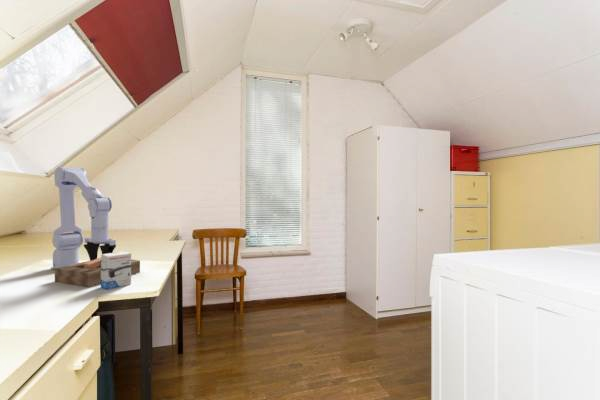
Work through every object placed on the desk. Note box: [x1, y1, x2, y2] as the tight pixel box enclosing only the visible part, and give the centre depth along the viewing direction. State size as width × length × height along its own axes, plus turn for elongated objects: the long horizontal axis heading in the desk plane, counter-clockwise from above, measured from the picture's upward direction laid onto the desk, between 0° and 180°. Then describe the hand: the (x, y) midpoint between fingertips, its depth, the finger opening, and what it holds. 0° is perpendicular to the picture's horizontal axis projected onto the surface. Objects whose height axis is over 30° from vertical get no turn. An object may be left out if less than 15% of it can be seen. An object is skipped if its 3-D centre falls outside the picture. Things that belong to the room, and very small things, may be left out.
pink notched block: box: [83, 256, 101, 269], centre depth 123 cm, size 4×10×6 cm, turn 161°
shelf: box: [54, 259, 141, 288], centre depth 123 cm, size 18×22×5 cm
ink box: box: [100, 250, 132, 290], centre depth 112 cm, size 8×5×12 cm, turn 143°
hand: (99, 261), depth 123 cm, fingers open, 6 cm apart
